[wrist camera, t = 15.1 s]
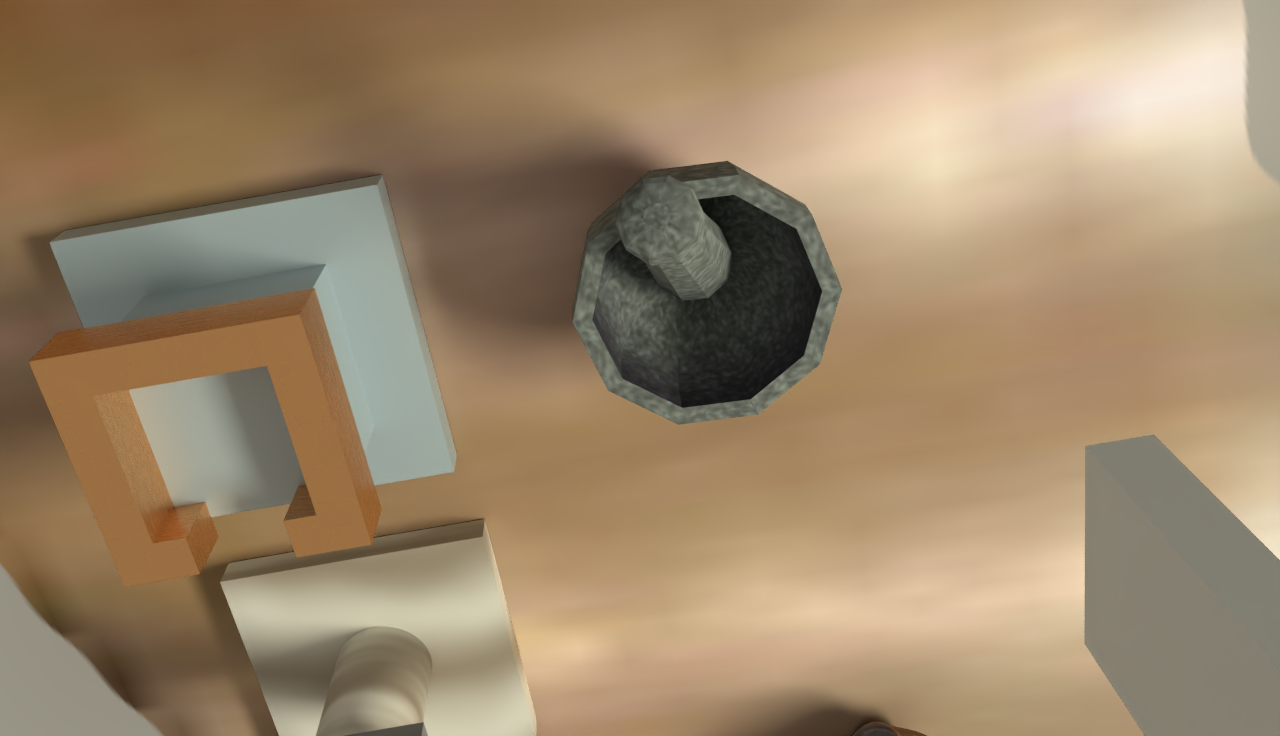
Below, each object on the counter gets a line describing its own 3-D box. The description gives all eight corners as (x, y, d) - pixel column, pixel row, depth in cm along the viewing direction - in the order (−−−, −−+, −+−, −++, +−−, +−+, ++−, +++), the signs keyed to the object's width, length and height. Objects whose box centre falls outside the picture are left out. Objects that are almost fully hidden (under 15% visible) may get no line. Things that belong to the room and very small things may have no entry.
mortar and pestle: (834, 299, 49) (909, 428, 38) (636, 385, 50) (654, 535, 40) (735, 56, 45) (788, 124, 34) (519, 157, 46) (504, 255, 35)
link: (58, 332, 40) (28, 361, 38) (315, 288, 40) (299, 314, 38) (147, 549, 44) (125, 586, 42) (381, 508, 44) (371, 544, 42)
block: (64, 230, 46) (-16, 292, 40) (382, 174, 46) (353, 227, 39) (171, 504, 51) (116, 597, 45) (456, 455, 51) (441, 541, 45)
